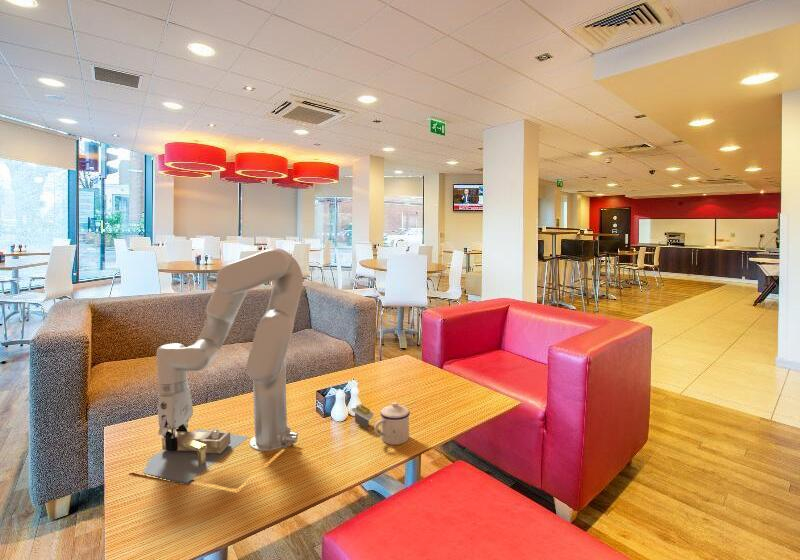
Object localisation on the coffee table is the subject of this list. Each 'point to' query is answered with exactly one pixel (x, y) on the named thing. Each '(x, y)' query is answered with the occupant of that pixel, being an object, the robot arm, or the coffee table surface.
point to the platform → (362, 415)
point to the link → (202, 441)
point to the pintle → (215, 434)
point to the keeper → (197, 449)
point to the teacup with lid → (394, 424)
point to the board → (185, 462)
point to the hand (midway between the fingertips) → (177, 445)
